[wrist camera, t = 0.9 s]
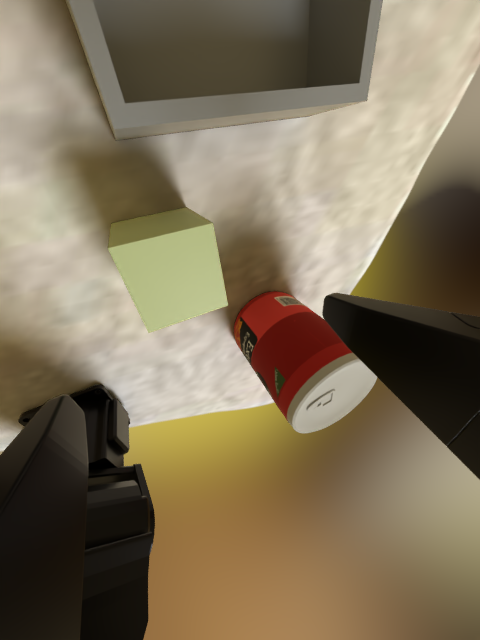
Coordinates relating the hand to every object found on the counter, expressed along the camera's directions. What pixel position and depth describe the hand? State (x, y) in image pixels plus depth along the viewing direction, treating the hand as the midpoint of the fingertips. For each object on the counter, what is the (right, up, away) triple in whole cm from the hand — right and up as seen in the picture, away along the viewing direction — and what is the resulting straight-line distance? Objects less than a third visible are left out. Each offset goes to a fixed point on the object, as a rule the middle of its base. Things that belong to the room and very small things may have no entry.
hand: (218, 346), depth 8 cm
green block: (-5, +6, +9) cm, 12 cm away
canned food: (+3, +1, +17) cm, 18 cm away
